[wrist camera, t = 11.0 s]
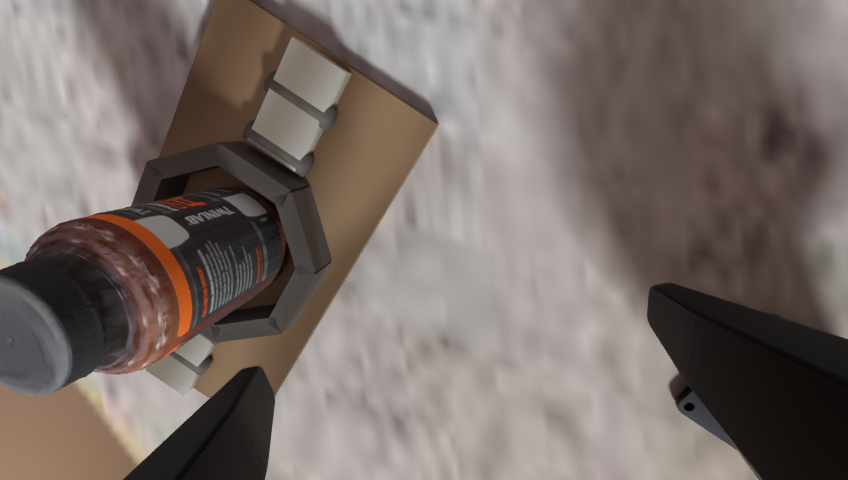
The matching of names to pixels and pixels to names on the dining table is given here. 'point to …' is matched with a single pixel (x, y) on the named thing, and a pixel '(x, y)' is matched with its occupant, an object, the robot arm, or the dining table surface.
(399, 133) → the octagonal bottle holder
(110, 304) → the supplement bottle
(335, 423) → the dining table surface
